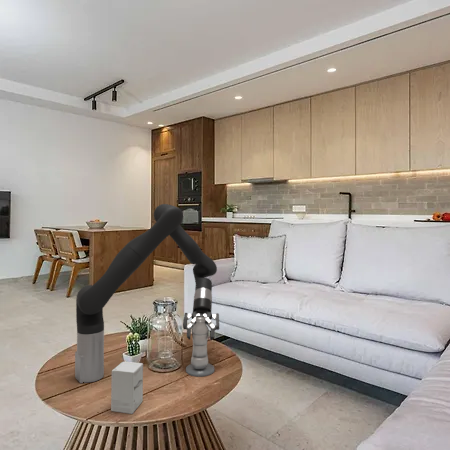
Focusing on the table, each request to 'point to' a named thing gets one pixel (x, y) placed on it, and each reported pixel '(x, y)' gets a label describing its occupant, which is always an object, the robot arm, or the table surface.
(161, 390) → the table surface
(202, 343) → the plastic bottle
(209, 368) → the coaster
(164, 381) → the table surface
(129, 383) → the supplement box
